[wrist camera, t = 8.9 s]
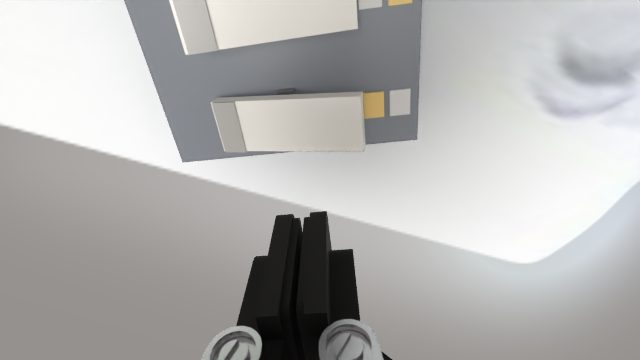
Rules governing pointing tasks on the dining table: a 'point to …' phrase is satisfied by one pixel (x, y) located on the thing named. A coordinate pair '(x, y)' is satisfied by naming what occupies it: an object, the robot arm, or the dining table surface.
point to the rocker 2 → (291, 122)
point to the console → (287, 72)
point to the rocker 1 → (257, 21)
